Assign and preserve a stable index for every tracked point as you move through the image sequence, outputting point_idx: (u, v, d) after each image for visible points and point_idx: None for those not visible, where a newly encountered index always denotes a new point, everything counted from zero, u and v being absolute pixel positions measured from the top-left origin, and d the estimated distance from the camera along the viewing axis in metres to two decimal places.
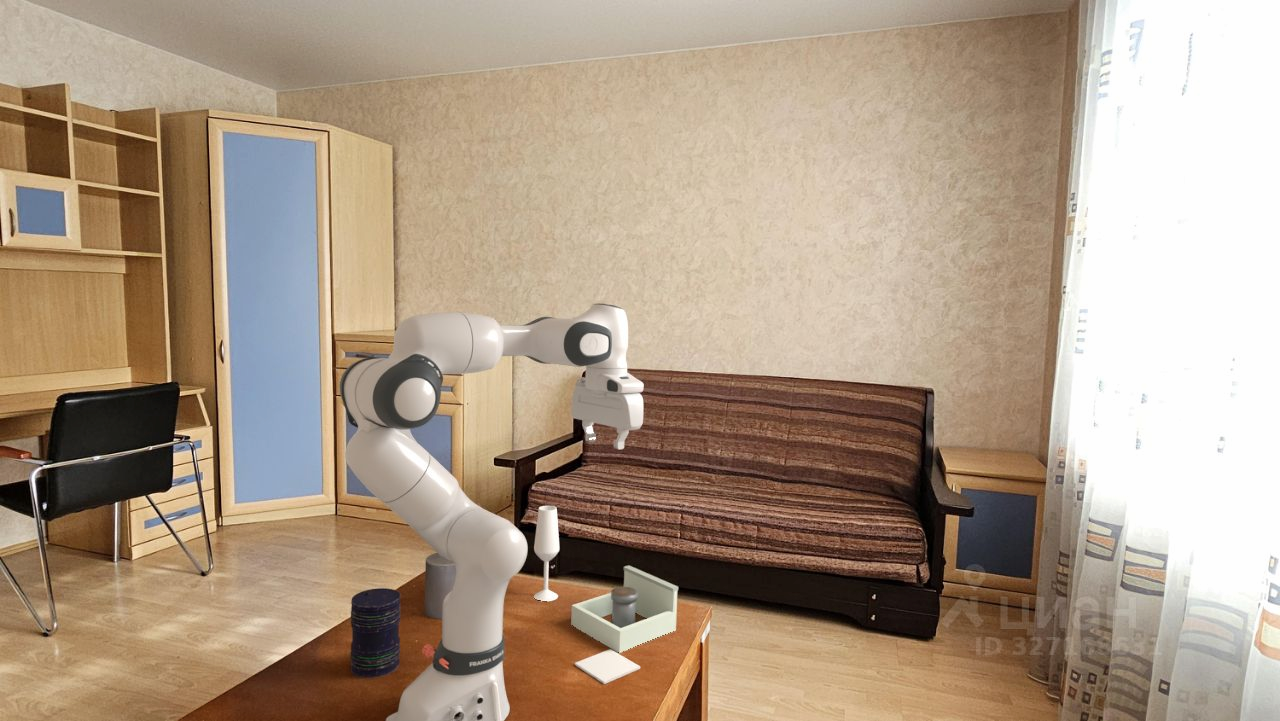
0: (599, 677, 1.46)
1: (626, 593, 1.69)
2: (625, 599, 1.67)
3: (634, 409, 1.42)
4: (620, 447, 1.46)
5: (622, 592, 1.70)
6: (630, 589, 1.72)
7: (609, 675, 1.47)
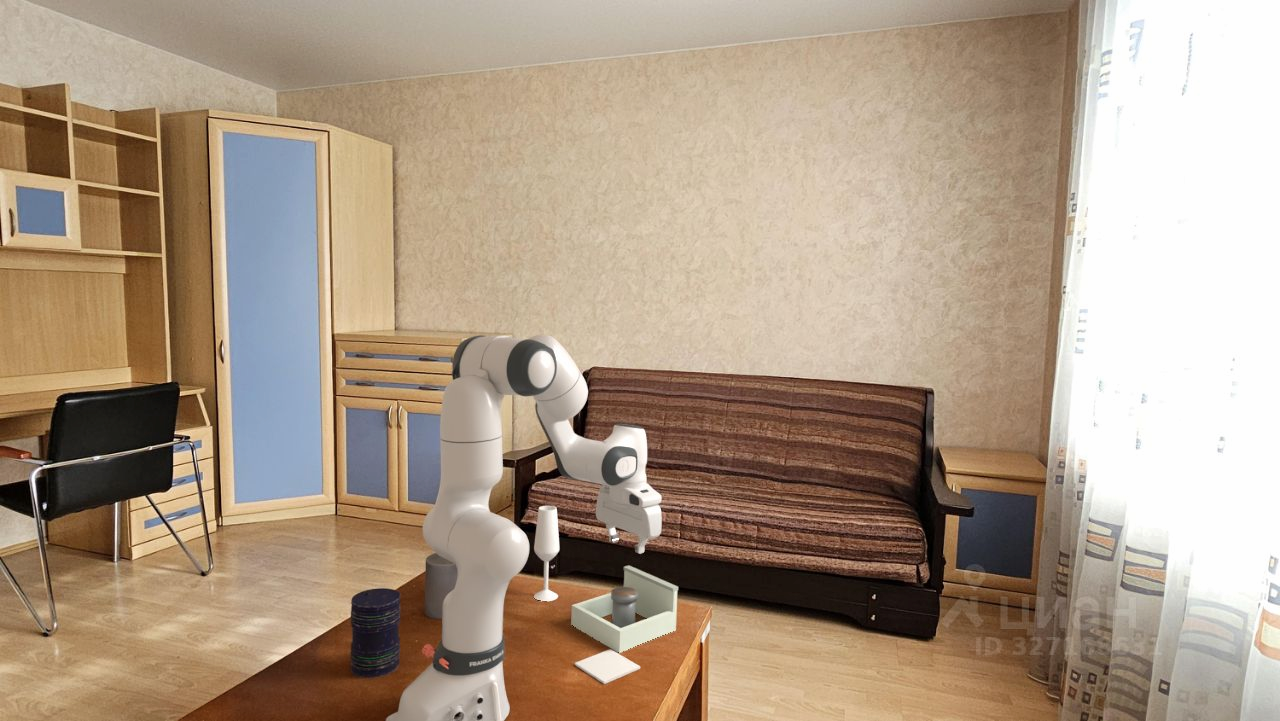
0: (599, 677, 1.46)
1: (626, 593, 1.69)
2: (625, 599, 1.67)
3: (653, 520, 1.61)
4: (641, 551, 1.65)
5: (622, 592, 1.70)
6: (630, 589, 1.72)
7: (609, 675, 1.47)
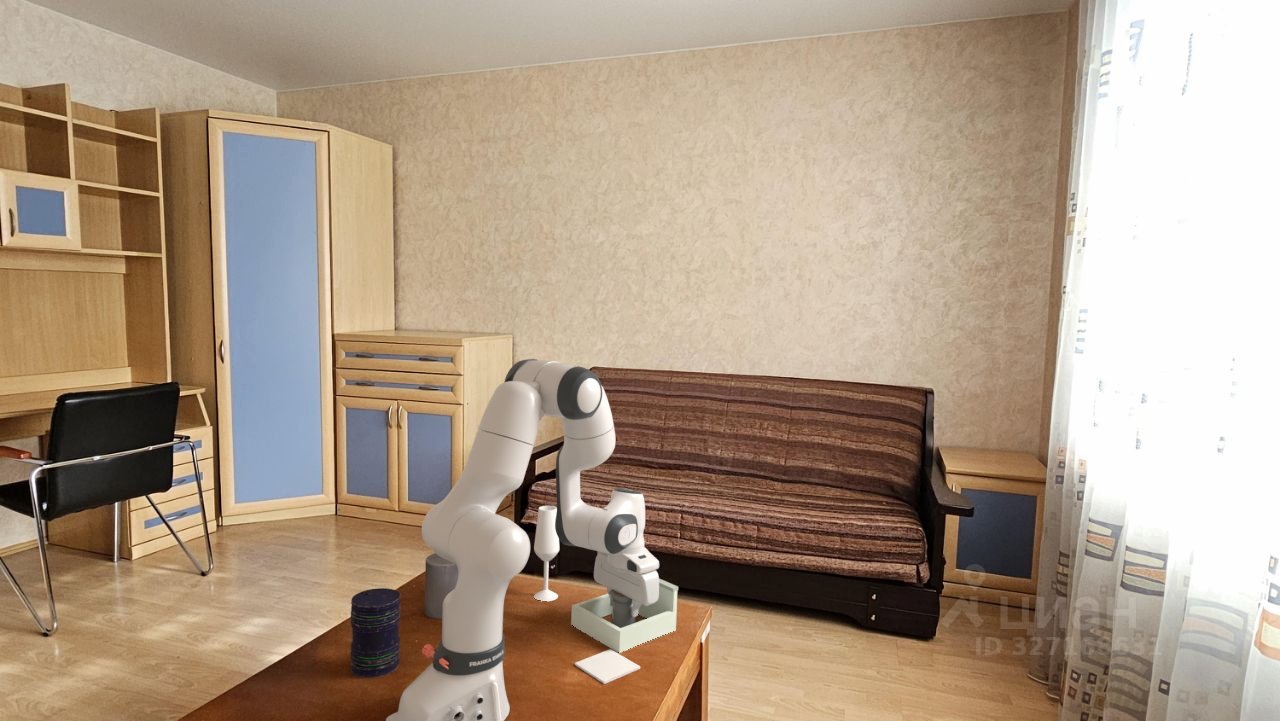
0: (599, 677, 1.46)
1: None
2: (625, 599, 1.67)
3: (651, 587, 1.62)
4: (635, 615, 1.67)
5: None
6: None
7: (609, 675, 1.47)
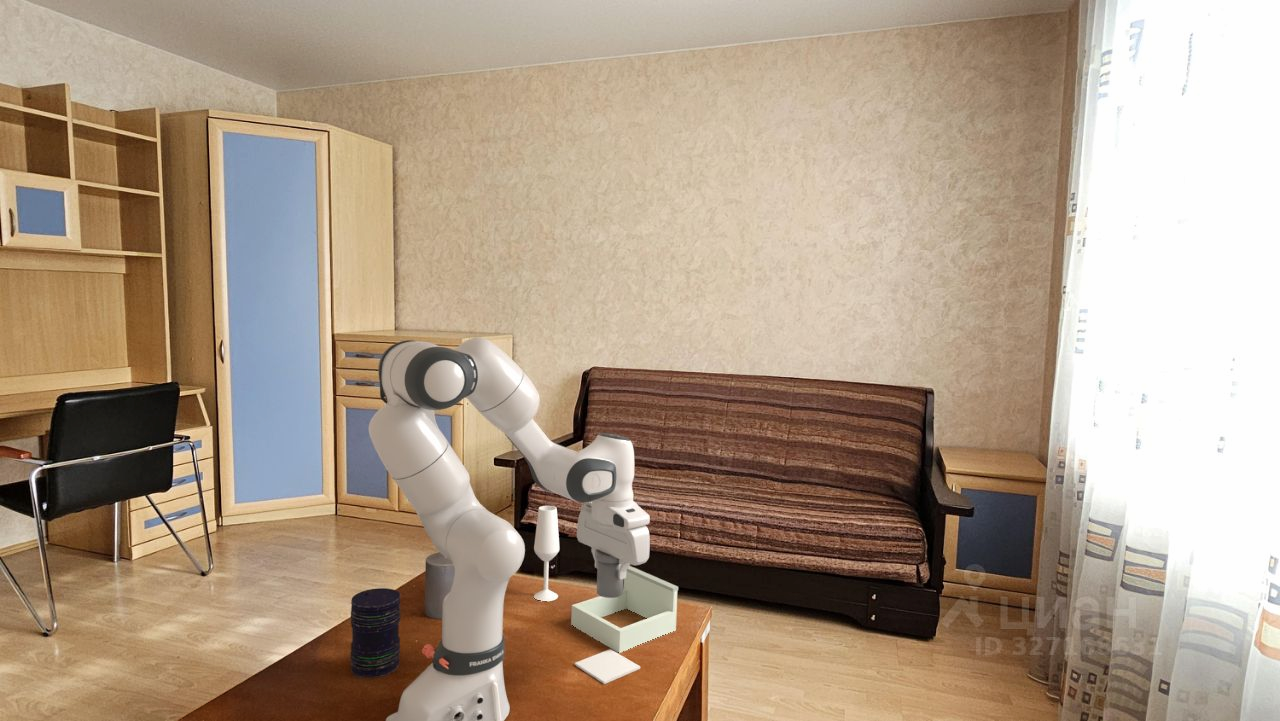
0: (599, 677, 1.46)
1: None
2: (612, 559, 1.47)
3: (640, 544, 1.42)
4: (622, 577, 1.47)
5: None
6: None
7: (609, 675, 1.47)
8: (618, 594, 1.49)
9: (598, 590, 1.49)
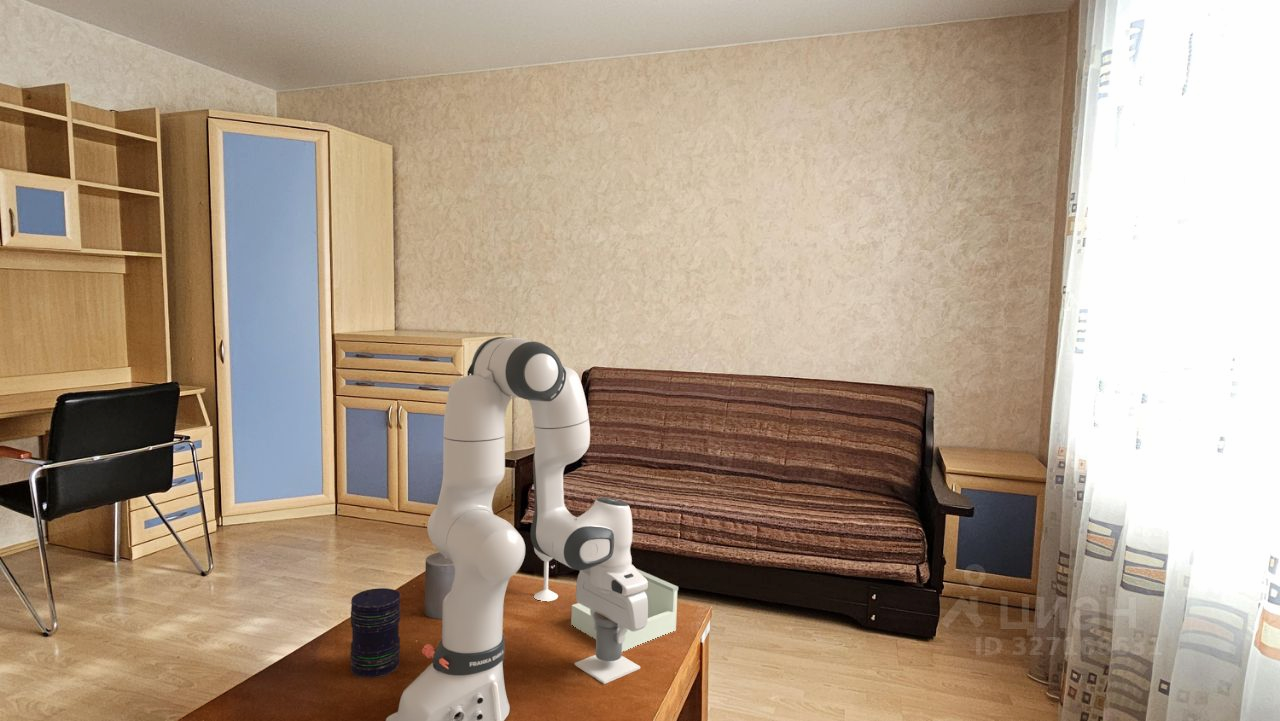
0: (599, 677, 1.46)
1: None
2: (610, 623, 1.48)
3: (639, 611, 1.43)
4: (621, 641, 1.48)
5: None
6: None
7: (609, 675, 1.47)
8: (617, 657, 1.50)
9: (597, 653, 1.50)
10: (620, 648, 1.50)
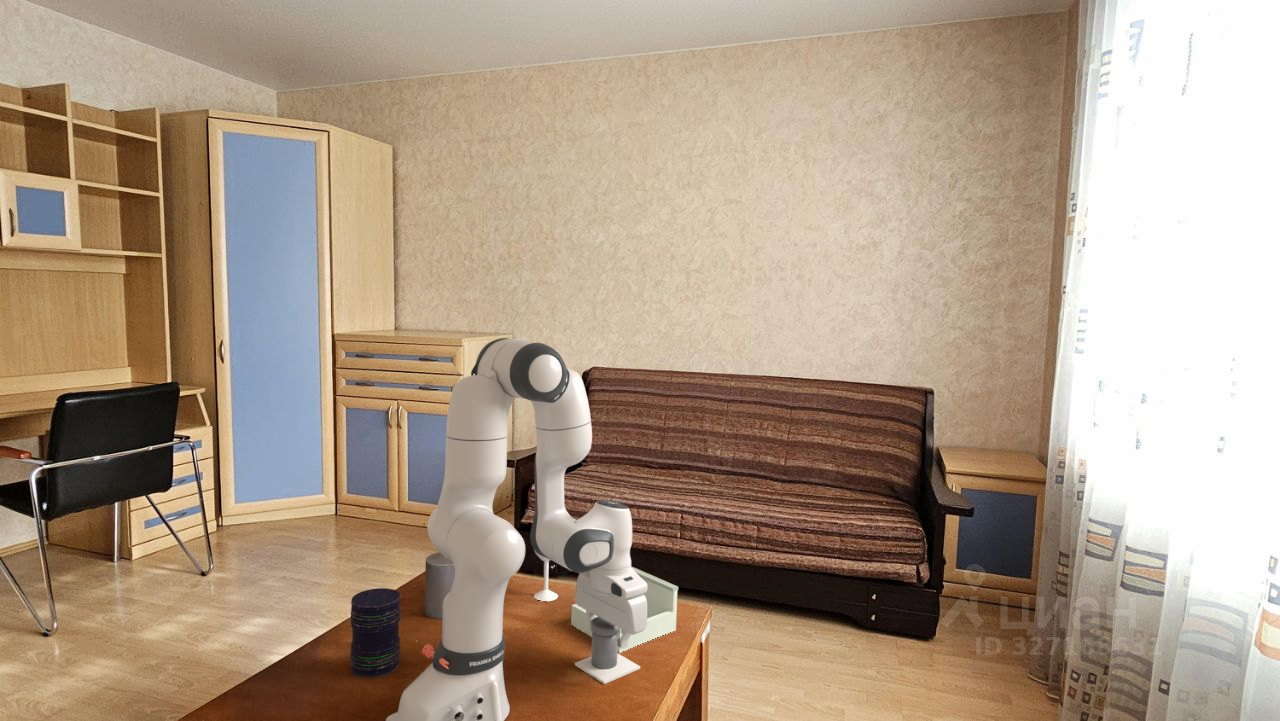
0: (599, 677, 1.46)
1: (607, 624, 1.51)
2: (606, 632, 1.49)
3: (638, 614, 1.43)
4: (624, 646, 1.47)
5: (602, 622, 1.52)
6: None
7: (609, 675, 1.47)
8: (612, 665, 1.50)
9: (592, 661, 1.51)
10: (615, 656, 1.51)
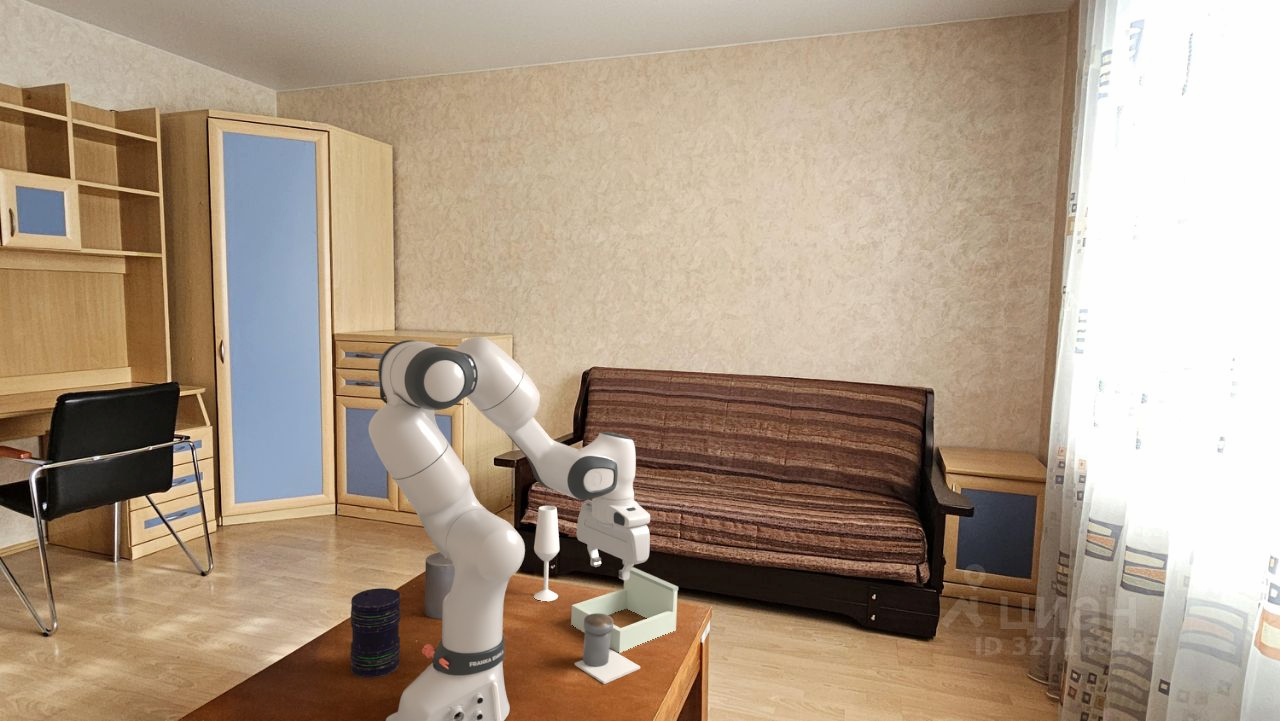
0: (599, 677, 1.46)
1: (600, 622, 1.51)
2: (598, 630, 1.49)
3: (640, 543, 1.42)
4: (625, 578, 1.46)
5: (596, 620, 1.52)
6: (605, 617, 1.54)
7: (609, 675, 1.47)
8: (603, 663, 1.51)
9: (584, 657, 1.52)
10: (607, 654, 1.52)
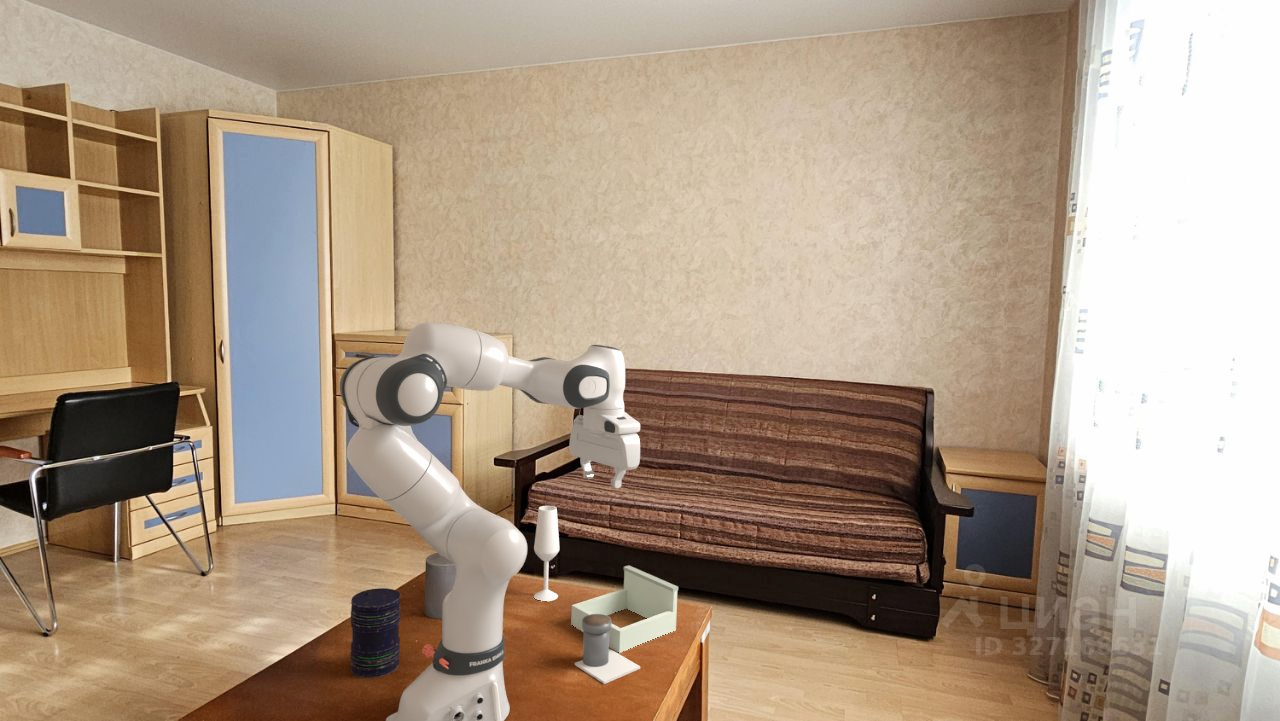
0: (599, 677, 1.46)
1: (598, 622, 1.52)
2: (597, 629, 1.50)
3: (631, 449, 1.45)
4: (617, 486, 1.49)
5: (594, 620, 1.53)
6: (603, 617, 1.54)
7: (609, 675, 1.47)
8: (603, 662, 1.51)
9: (584, 658, 1.52)
10: (606, 654, 1.52)
